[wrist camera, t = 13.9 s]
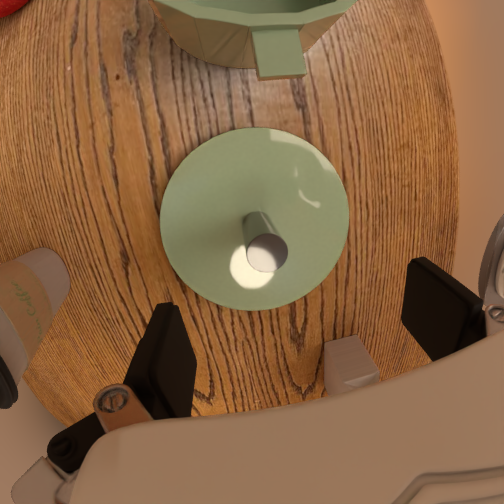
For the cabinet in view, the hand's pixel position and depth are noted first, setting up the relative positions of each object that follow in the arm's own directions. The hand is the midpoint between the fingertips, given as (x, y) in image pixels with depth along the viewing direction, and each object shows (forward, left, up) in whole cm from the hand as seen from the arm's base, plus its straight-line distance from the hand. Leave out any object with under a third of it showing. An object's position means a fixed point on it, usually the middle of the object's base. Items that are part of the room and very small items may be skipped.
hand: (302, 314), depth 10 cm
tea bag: (-7, +17, -13) cm, 22 cm away
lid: (+1, 0, -12) cm, 12 cm away
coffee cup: (+21, +1, -13) cm, 25 cm away
